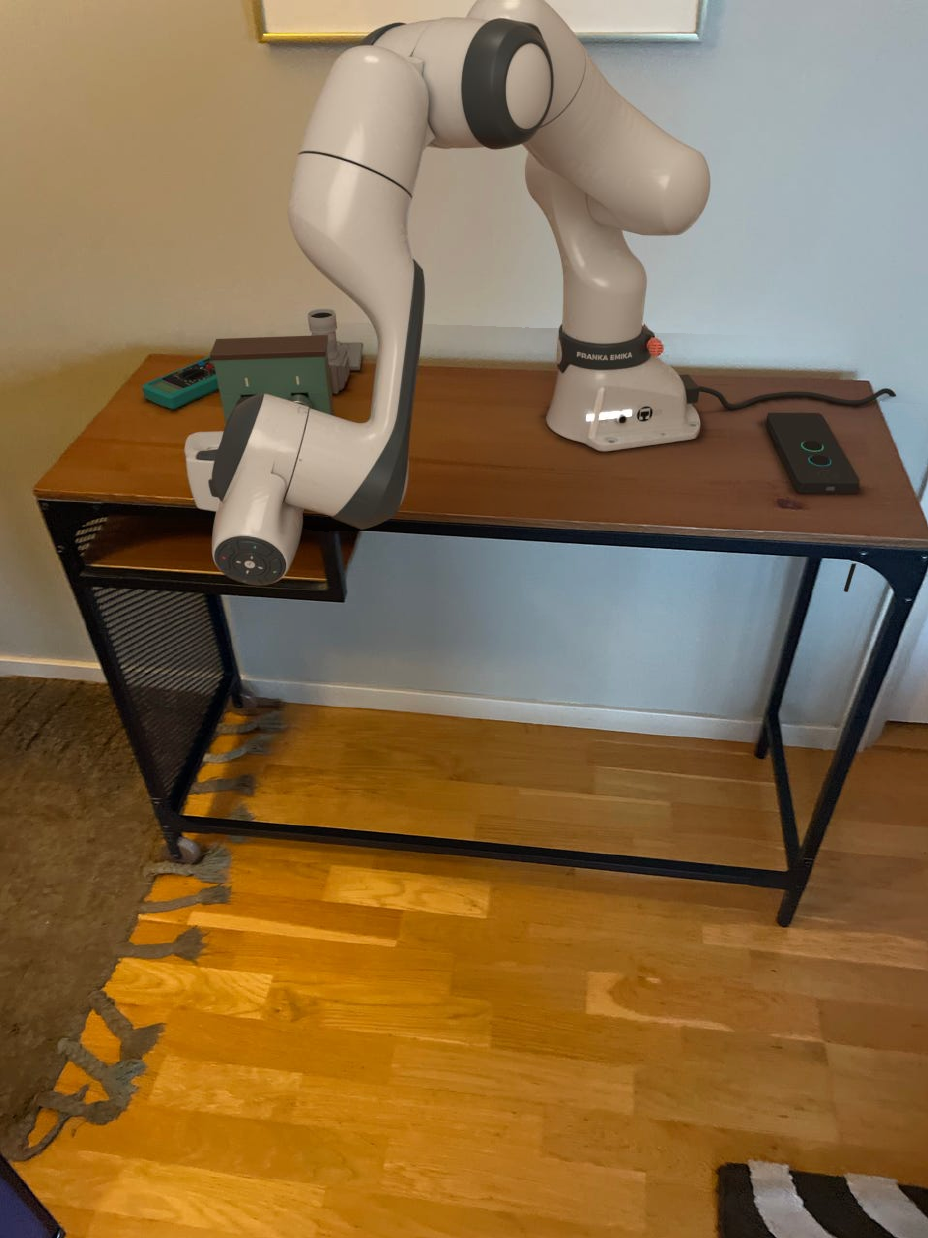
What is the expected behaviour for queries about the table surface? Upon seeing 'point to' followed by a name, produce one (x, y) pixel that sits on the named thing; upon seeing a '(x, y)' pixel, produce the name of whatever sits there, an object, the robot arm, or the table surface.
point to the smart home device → (811, 454)
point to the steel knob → (301, 400)
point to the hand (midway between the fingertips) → (281, 423)
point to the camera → (335, 347)
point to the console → (273, 369)
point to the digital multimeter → (183, 385)
